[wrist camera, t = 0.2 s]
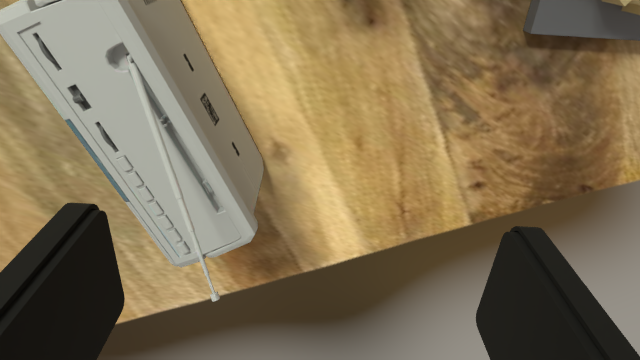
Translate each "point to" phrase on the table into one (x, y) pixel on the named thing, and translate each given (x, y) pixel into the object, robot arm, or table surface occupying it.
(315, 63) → the table surface
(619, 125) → the table surface
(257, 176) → the stereo radio cassette player
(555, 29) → the gear board
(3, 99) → the table surface
